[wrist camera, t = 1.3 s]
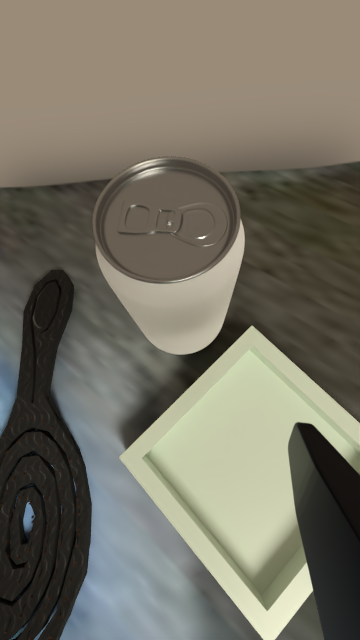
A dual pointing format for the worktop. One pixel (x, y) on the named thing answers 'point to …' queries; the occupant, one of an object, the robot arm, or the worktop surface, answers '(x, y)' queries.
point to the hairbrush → (41, 482)
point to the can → (171, 249)
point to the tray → (242, 474)
